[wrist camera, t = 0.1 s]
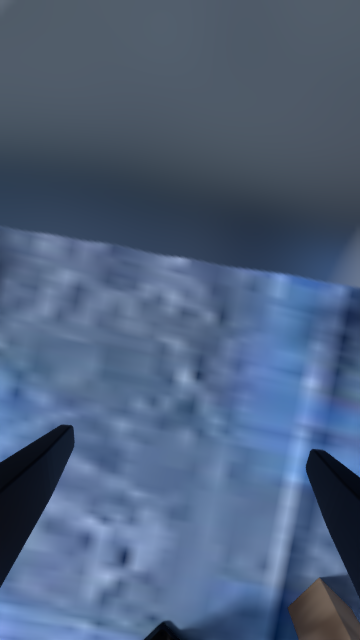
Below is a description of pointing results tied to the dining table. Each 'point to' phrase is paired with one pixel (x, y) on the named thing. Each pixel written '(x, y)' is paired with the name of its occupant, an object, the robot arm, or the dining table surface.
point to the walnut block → (323, 615)
